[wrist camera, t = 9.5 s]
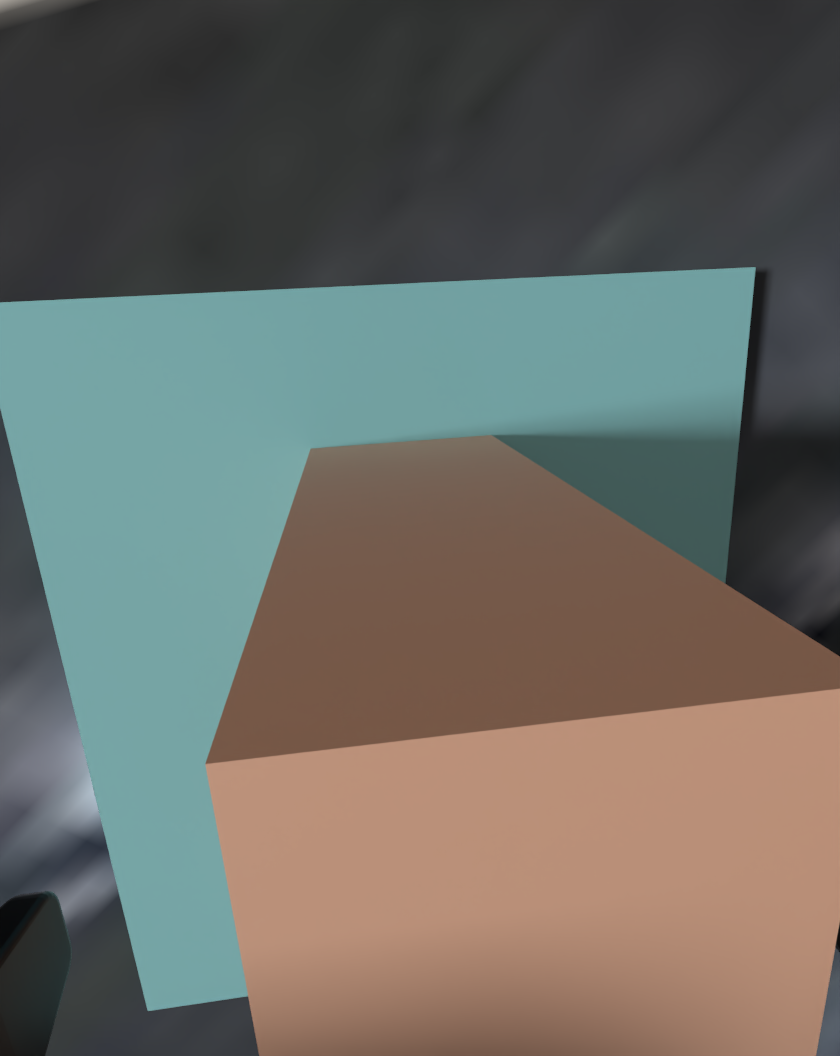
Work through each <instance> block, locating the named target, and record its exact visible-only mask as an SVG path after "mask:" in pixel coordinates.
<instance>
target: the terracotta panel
mask: <svg viewBox="0 0 840 1056" xmlns="http://www.w3.org/2000/svg"><path fill="white" fill-rule="evenodd" d="M205 766H206V771H207V776H208V782H209V787H210V793H211V798H212V803H213V809H214V814H215V819H216V825H217V830H218V836H219V841H220V846H221V852H222V857H223V863H224V868H225V873H226V879H227V884H228V890H229V895H230V900H231V906H232V911H233V917H234V922H235V927H236V933H237V938H238V943H239V949H240V954H241V960H242V965H243V970H244V976H245V981H246V987H247V992H248V997H249V1003H250V1008H251V1014H252V1019H253V1024H254V1030H255V1035H256V1041H257V1046H258V1051H259V1056H816V1052H817V1047H818V1041H819V1035H820V1030H821V1024H822V1019H823V1013H824V1007H825V1002H826V996H827V991H828V985H829V979H830V974H831V968H832V963H833V957H834V951H835V946H836V940H837V935H838V929H839V923H840V656H838V655H837V654H835V653H833V652H832V651H830V650H829V649H827V648H826V647H824V646H822V645H821V644H819V643H818V642H816V641H815V640H813V639H811V638H810V637H808V636H807V635H805V634H803V633H802V632H800V631H799V630H797V629H796V628H794V627H792V626H791V625H789V624H788V623H786V622H785V621H783V620H781V619H780V618H778V617H777V616H775V615H774V614H772V613H770V612H769V611H767V610H766V609H764V608H763V607H761V606H759V605H758V604H756V603H755V602H753V601H752V600H750V599H748V598H747V597H745V596H744V595H742V594H741V593H739V592H737V591H736V590H734V589H733V588H731V587H730V586H728V585H726V584H725V583H723V582H722V581H720V580H719V579H717V578H715V577H714V576H712V575H711V574H709V573H708V572H706V571H704V570H703V569H701V568H700V567H698V566H697V565H695V564H693V563H692V562H690V561H689V560H687V559H686V558H684V557H682V556H681V555H679V554H678V553H676V552H674V551H673V550H671V549H670V548H668V547H667V546H665V545H663V544H662V543H660V542H659V541H657V540H656V539H654V538H652V537H651V536H649V535H648V534H646V533H645V532H643V531H641V530H640V529H638V528H637V527H635V526H634V525H632V524H630V523H629V522H627V521H626V520H624V519H623V518H621V517H619V516H618V515H616V514H615V513H613V512H612V511H610V510H608V509H607V508H605V507H604V506H602V505H601V504H599V503H597V502H596V501H594V500H593V499H591V498H590V497H588V496H586V495H585V494H583V493H582V492H580V491H579V490H577V489H575V488H574V487H572V486H571V485H569V484H568V483H566V482H564V481H563V480H561V479H560V478H558V477H557V476H555V475H553V474H552V473H550V472H549V471H547V470H545V469H544V468H542V467H541V466H539V465H538V464H536V463H534V462H533V461H531V460H530V459H528V458H527V457H525V456H523V455H522V454H520V453H519V452H517V451H516V450H514V449H512V448H511V447H509V446H508V445H506V444H505V443H503V442H501V441H500V440H498V439H497V438H495V437H494V436H492V435H486V436H472V437H459V438H446V439H432V440H419V441H406V442H392V443H379V444H366V445H352V446H339V447H326V448H312V449H310V452H309V455H308V458H307V461H306V464H305V467H304V470H303V473H302V476H301V479H300V482H299V485H298V488H297V491H296V494H295V497H294V500H293V503H292V506H291V509H290V512H289V515H288V518H287V521H286V524H285V527H284V530H283V533H282V536H281V539H280V542H279V545H278V548H277V551H276V554H275V557H274V560H273V563H272V566H271V569H270V572H269V575H268V578H267V581H266V584H265V587H264V590H263V593H262V596H261V599H260V602H259V605H258V608H257V611H256V614H255V617H254V620H253V623H252V626H251V629H250V632H249V635H248V638H247V641H246V644H245V647H244V650H243V653H242V656H241V659H240V662H239V665H238V668H237V671H236V674H235V677H234V680H233V683H232V686H231V689H230V692H229V695H228V698H227V701H226V703H225V706H224V709H223V712H222V715H221V718H220V721H219V724H218V727H217V730H216V733H215V736H214V739H213V742H212V745H211V748H210V751H209V754H208V757H207V760H206V763H205Z"/></svg>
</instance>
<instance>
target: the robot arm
mask: <svg viewBox="0 0 840 1056" xmlns="http://www.w3.org/2000/svg"><path fill="white" fill-rule="evenodd" d="M836 946H837V947H838V949H839V951H840V923H839V929H838V935H837V940H836ZM70 963H71V942H70V938H69V935H68V931H67V928H66V924H65V921H64V917H63V914H62V910H61V906H60V903H59V900H58V898H57V896H56V895H55V894H54V893H53V892H49V891H44V892H37V893H29V894H21V895H18V896H15V897H13V898H11V899H10V900H8V901H7V902H6V903H5V904H3V905H2V906H1V907H0V1056H45V1054H46V1050H47V1047H48V1043H49V1040H50V1036H51V1033H52V1029H53V1025H54V1022H55V1018H56V1015H57V1011H58V1008H59V1004H60V1000H61V997H62V993H63V990H64V986H65V983H66V979H67V975H68V972H69V968H70Z"/></svg>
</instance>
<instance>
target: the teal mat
mask: <svg viewBox="0 0 840 1056" xmlns="http://www.w3.org/2000/svg"><path fill="white" fill-rule="evenodd" d="M755 269H756V267H749V268H728V269H707V270H685V271H664V272H643V273H621V274H600V275H579V276H557V277H536V278H514V279H493V280H472V281H450V282H429V283H408V284H386V285H365V286H344V287H322V288H301V289H280V290H258V291H237V292H215V293H194V294H173V295H151V296H130V297H109V298H87V299H66V300H45V301H23V302H2V303H0V409H1V413H2V417H3V421H4V425H5V429H6V433H7V437H8V441H9V445H10V449H11V454H12V458H13V462H14V466H15V470H16V474H17V478H18V482H19V486H20V490H21V494H22V499H23V503H24V507H25V511H26V515H27V519H28V523H29V527H30V531H31V535H32V539H33V544H34V548H35V552H36V556H37V560H38V564H39V568H40V572H41V576H42V580H43V584H44V588H45V593H46V597H47V601H48V605H49V609H50V613H51V617H52V621H53V625H54V629H55V633H56V638H57V642H58V646H59V650H60V654H61V658H62V662H63V666H64V670H65V674H66V678H67V683H68V687H69V691H70V695H71V699H72V703H73V707H74V711H75V715H76V719H77V723H78V727H79V732H80V736H81V740H82V744H83V748H84V752H85V756H86V760H87V764H88V768H89V772H90V777H91V781H92V785H93V789H94V793H95V797H96V801H97V805H98V809H99V813H100V817H101V822H102V826H103V830H104V834H105V838H106V842H107V846H108V850H109V854H110V858H111V862H112V867H113V871H114V875H115V879H116V883H117V887H118V891H119V895H120V899H121V903H122V907H123V911H124V916H125V920H126V924H127V928H128V932H129V936H130V940H131V944H132V948H133V952H134V956H135V961H136V965H137V969H138V973H139V977H140V981H141V985H142V989H143V993H144V997H145V1001H146V1006H147V1010H148V1011H151V1010H158V1009H165V1008H172V1007H178V1006H185V1005H192V1004H198V1003H205V1002H212V1001H218V1000H225V999H232V998H238V997H245V996H248V992H247V987H246V981H245V976H244V970H243V965H242V960H241V954H240V949H239V943H238V938H237V933H236V927H235V922H234V917H233V911H232V906H231V900H230V895H229V890H228V884H227V879H226V873H225V868H224V863H223V857H222V852H221V846H220V841H219V836H218V830H217V825H216V819H215V814H214V809H213V803H212V798H211V793H210V787H209V782H208V776H207V771H206V766H205V763H206V760H207V757H208V754H209V751H210V748H211V745H212V742H213V739H214V736H215V733H216V730H217V727H218V724H219V721H220V718H221V715H222V712H223V709H224V706H225V703H226V701H227V698H228V695H229V692H230V689H231V686H232V683H233V680H234V677H235V674H236V671H237V668H238V665H239V662H240V659H241V656H242V653H243V650H244V647H245V644H246V641H247V638H248V635H249V632H250V629H251V626H252V623H253V620H254V617H255V614H256V611H257V608H258V605H259V602H260V599H261V596H262V593H263V590H264V587H265V584H266V581H267V578H268V575H269V572H270V569H271V566H272V563H273V560H274V557H275V554H276V551H277V548H278V545H279V542H280V539H281V536H282V533H283V530H284V527H285V524H286V521H287V518H288V515H289V512H290V509H291V506H292V503H293V500H294V497H295V494H296V491H297V488H298V485H299V482H300V479H301V476H302V473H303V470H304V467H305V464H306V461H307V458H308V455H309V452H310V449H312V448H326V447H339V446H352V445H366V444H379V443H392V442H406V441H419V440H432V439H446V438H459V437H472V436H486V435H492V436H494V437H495V438H497V439H498V440H500V441H501V442H503V443H505V444H506V445H508V446H509V447H511V448H512V449H514V450H516V451H517V452H519V453H520V454H522V455H523V456H525V457H527V458H528V459H530V460H531V461H533V462H534V463H536V464H538V465H539V466H541V467H542V468H544V469H545V470H547V471H549V472H550V473H552V474H553V475H555V476H557V477H558V478H560V479H561V480H563V481H564V482H566V483H568V484H569V485H571V486H572V487H574V488H575V489H577V490H579V491H580V492H582V493H583V494H585V495H586V496H588V497H590V498H591V499H593V500H594V501H596V502H597V503H599V504H601V505H602V506H604V507H605V508H607V509H608V510H610V511H612V512H613V513H615V514H616V515H618V516H619V517H621V518H623V519H624V520H626V521H627V522H629V523H630V524H632V525H634V526H635V527H637V528H638V529H640V530H641V531H643V532H645V533H646V534H648V535H649V536H651V537H652V538H654V539H656V540H657V541H659V542H660V543H662V544H663V545H665V546H667V547H668V548H670V549H671V550H673V551H674V552H676V553H678V554H679V555H681V556H682V557H684V558H686V559H687V560H689V561H690V562H692V563H693V564H695V565H697V566H698V567H700V568H701V569H703V570H704V571H706V572H708V573H709V574H711V575H712V576H714V577H715V578H717V579H719V580H720V581H722V582H723V583H726V572H727V562H728V551H729V541H730V530H731V520H732V509H733V499H734V488H735V478H736V468H737V457H738V447H739V436H740V426H741V415H742V405H743V394H744V384H745V373H746V363H747V353H748V342H749V332H750V321H751V311H752V300H753V290H754V279H755Z"/></svg>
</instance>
